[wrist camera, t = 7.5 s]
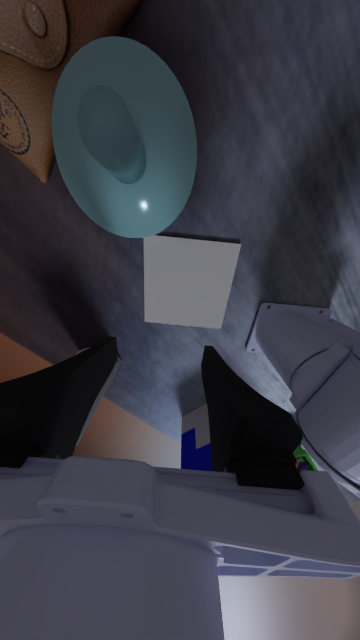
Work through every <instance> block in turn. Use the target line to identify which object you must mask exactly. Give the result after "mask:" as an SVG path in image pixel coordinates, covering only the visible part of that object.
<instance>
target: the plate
mask: <svg viewBox="0 0 360 640" xmlns="http://www.w3.org/2000/svg"><path fill="white" fill-rule="evenodd" d="M240 247H241V244H235V243H225V242H215V241H205V240H195V239H185V238H176V237H166V236H156V235H153V236H150V237H145V238H144V307H145V322H153V323H163V324H174V325H185V326H195V327H206V328H217V329H221V327H222V323H223V318H224V314H225V310H226V306H227V302H228V298H229V293H230V289H231V285H232V281H233V277H234V273H235V268H236V264H237V260H238V256H239V252H240Z"/></svg>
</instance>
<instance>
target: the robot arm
mask: <svg viewBox="0 0 360 640" xmlns="http://www.w3.org/2000/svg"><path fill="white" fill-rule="evenodd" d="M268 305H270V306H269V307H268V308H267V306H268ZM319 311H320V312H319ZM331 314H332V310H331V309H328V308H319V307H308V306H298V305H287V304H277V303H267V302H264V303H262V304H261V305H260V308H259V311H258V314H257V317H256V320H255V322H254V325H253V328H252V331H251V334H250V337H249V340H248V343H247V346H246V351H247V352H253V353H264V354H265V356H266V357H267V358H268V360H269V361H270V362H271V364H272V365H273V367H274V368H275V369H276V371H277V372H278V374H279V375H280V376H281V378H282V379H283V381H284V382H285V383H286V385H287V386H288V388H289V389H290V390H291V392H292V396H291V398H290V401H291V402H292V404H293V405H294V407H295V408H296V410H297V411H296V412H295V413H294V415H293V417H292V415H291V414H290V413H289V412H287V411H285V410H284V409H282V408H280V407H279V406H277V405H275V404H274V403H272V402H271V401H269V400H268V399H266V398H265V397H263V396H262V395H260V394H259V393H258V392H256V391H255V390H254V389H253V388H251V387H250V386H249V385H248V384H246V383H245V382H244V381H243V380H242V379H241V378H240V377H239V376H237V375H236V374H235V373H234V371H233V370H232V369H231V368H230V367H229V366H228V365H227V364H226V363H225V361H224V360H223V359H222V358H221V356H220V355H219V354H218V353H217V351H216V350H215V349H214V347H213V346H206V345H205V348H204V353H203V359H202V364H201V370H202V380H203V385H204V391H205V396H206V401H207V408H208V418H209V431H210V446H211V465H212V471H201V470H188V469H176V468H163V467H152V466H151V465H149V464H147V463H145V462H140V461H136V460H126V459H113V458H101V457H89V456H72V454H73V452H74V449H75V446H76V444H77V441H78V439H79V436H80V434H81V431H82V429H83V427H84V424H85V422H86V420H87V417H88V415H89V413H90V411H91V408H92V406H93V404H94V402H95V400H96V398H97V396H98V394H99V392H100V391H101V389H102V387H103V386H104V384H105V382H106V381H107V379H108V377H109V375H110V374H111V372H112V370H113V368H114V366H115V364H116V361H117V359H118V353H117V344H116V337H106V338H105V339H103V340H101V341H99V342H98V343H96V344H94V345H93V346H91V347H89V348H88V349H86V350H84V351H82V352H80V353H78V354H77V355H75V356H73V357H71V358H69V359H67V360H65V361H62V362H60V363H58V364H56V365H53V366H51V367H48V368H46V369H43V370H40V371H38V372H35V373H32V374H29V375H26V376H23V377H20V378H16V379H13V380H9V381H6V382H2V383H0V640H224V633H223V622H222V613H221V602H220V593H219V582H218V576H262V577H266V576H267V577H313V578H333V579H349V578H353V577H357V576H360V522H359V520H358V519H357V517H356V515H355V514H354V512H353V511H352V509H351V507H350V506H349V504H348V503H347V501H346V499H345V498H344V496H343V495H342V493H341V491H340V490H339V488H338V487H337V485H336V484H335V482H334V480H336V481H337V482H338V483H340V484H341V485H342V486H344V487H345V488H347V489H348V490H349V491H351V492H352V493H354V494H355V495H356V496H357V497H359V498H360V332H358V331H356V330H354V329H352V328H350V327H348V326H346V325H344V324H342V323H340V322H338V321H336V320H334V319H332V318H330V315H331ZM252 349H253V350H252ZM300 443H301V444H302V445H303V447H304V448H305V449H306V451H307V452H308V453H309V455H310V456H311V457H312V458H313V459H314V461H315V462H316V463H317V464H318V465H319V466H320V467H321V468H322V469H323V470H324V471H325V472H323V471H310V470H303V471H300V472H298V470H297V468H296V466H295V464H296V463H297V460H296V458H295V456H294V454H293V452H294V451H295V449H296V448H297V447H298V446H299V445H300ZM332 478H333V479H334V480H333V479H332Z"/></svg>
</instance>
